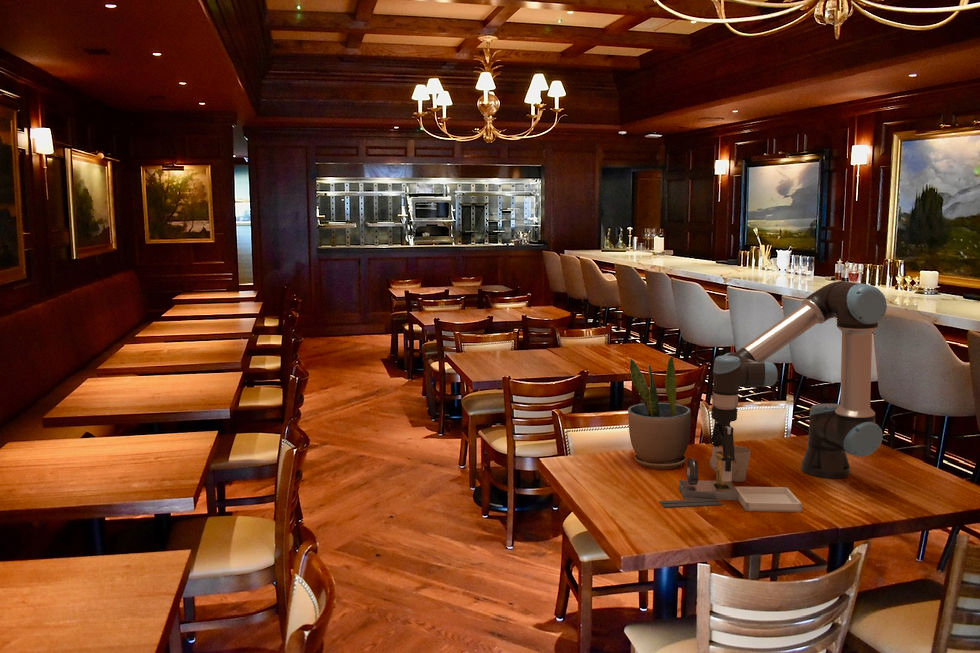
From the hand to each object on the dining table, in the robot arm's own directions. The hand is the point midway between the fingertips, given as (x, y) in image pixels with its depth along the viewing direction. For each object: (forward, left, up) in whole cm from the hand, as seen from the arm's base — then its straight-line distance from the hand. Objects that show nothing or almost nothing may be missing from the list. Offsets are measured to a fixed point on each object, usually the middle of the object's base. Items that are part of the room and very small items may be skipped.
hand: (721, 473), depth 245 cm
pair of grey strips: (+11, +9, -7) cm, 15 cm away
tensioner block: (+4, 0, -7) cm, 8 cm away
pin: (0, 0, -7) cm, 7 cm away
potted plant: (+15, -30, -7) cm, 34 cm away
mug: (-6, -15, -7) cm, 18 cm away
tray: (-12, +7, -7) cm, 15 cm away
